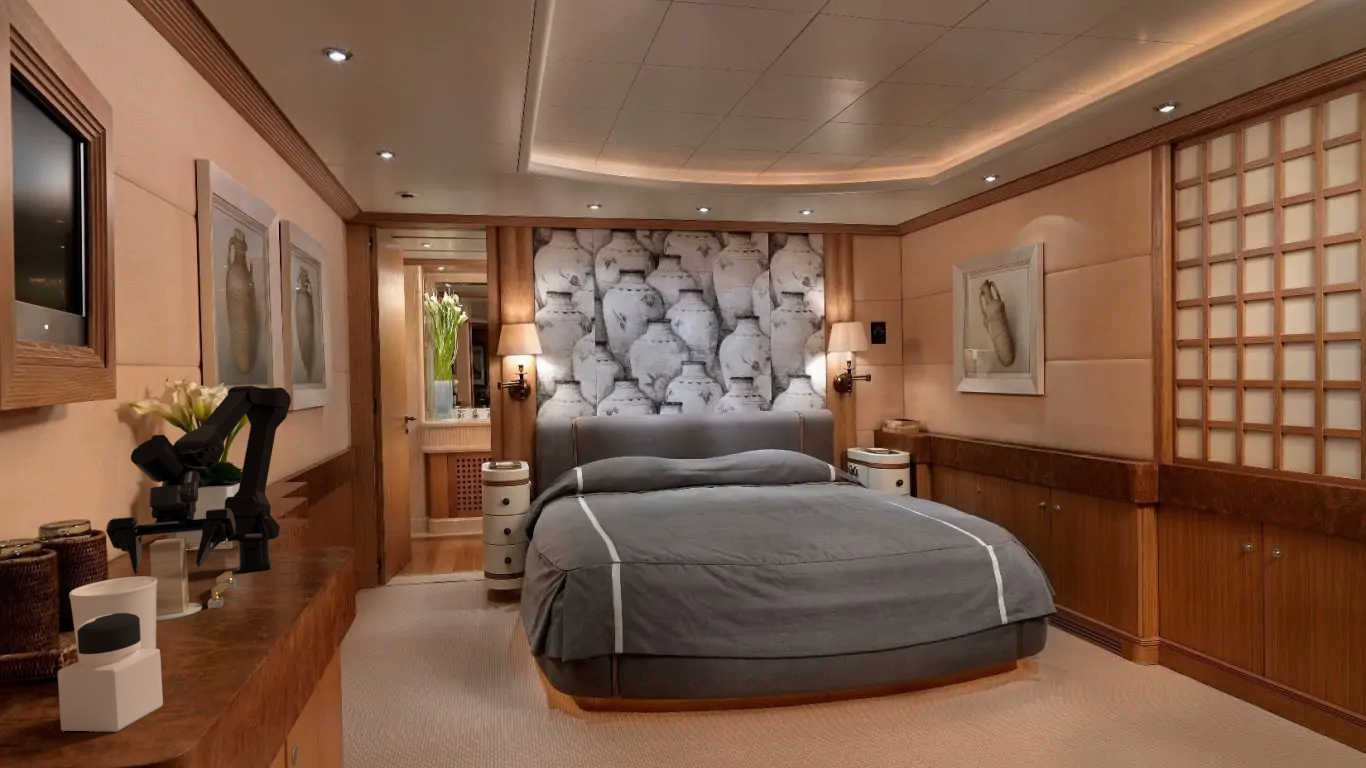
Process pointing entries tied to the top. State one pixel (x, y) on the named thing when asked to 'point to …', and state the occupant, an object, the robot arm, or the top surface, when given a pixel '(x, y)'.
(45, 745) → the top surface
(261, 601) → the top surface
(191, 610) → the coaster
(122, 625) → the medicine bottle
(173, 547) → the maple peg
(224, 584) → the zigzag wooden handle
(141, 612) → the candle holder
